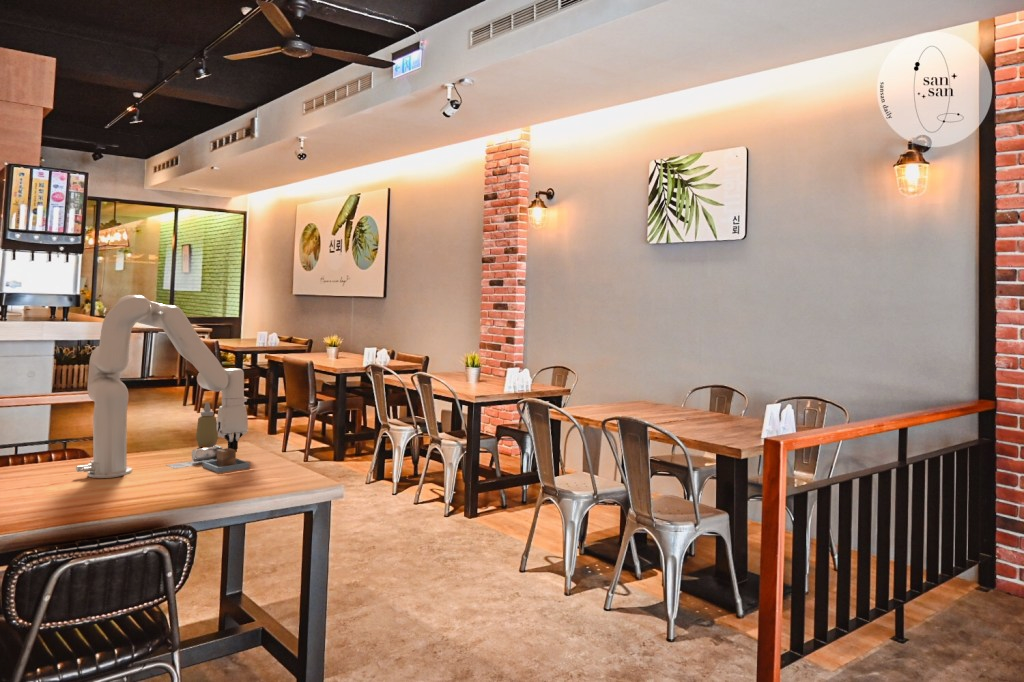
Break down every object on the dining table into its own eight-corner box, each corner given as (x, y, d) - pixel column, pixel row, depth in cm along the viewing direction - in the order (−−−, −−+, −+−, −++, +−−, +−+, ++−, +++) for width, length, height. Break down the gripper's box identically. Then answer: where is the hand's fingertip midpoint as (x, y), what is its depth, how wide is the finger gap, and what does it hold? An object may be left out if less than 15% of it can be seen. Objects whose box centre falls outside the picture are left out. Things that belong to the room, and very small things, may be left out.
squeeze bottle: (195, 446, 276) (196, 401, 275) (217, 444, 279) (218, 400, 278) (195, 449, 268) (196, 403, 267) (218, 448, 272) (218, 403, 271)
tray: (217, 474, 231) (217, 467, 231) (202, 468, 239) (202, 462, 239) (249, 469, 240) (249, 462, 240) (234, 463, 247) (234, 457, 247)
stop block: (222, 469, 236) (223, 451, 236) (216, 467, 239) (216, 449, 239) (235, 467, 240) (235, 450, 239) (229, 465, 242) (229, 448, 242)
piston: (197, 463, 242) (197, 450, 242) (191, 460, 246) (191, 448, 246) (222, 459, 249) (222, 447, 249) (215, 457, 252) (215, 444, 252)
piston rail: (174, 469, 236) (174, 468, 236) (166, 466, 240) (166, 465, 240) (227, 462, 249) (227, 460, 249) (218, 458, 254) (218, 457, 254)
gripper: (247, 399, 261) (247, 447, 262) (207, 402, 250) (207, 453, 251) (257, 401, 256) (257, 450, 257) (217, 405, 245) (217, 456, 246)
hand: (232, 451), depth 254 cm, fingers closed
